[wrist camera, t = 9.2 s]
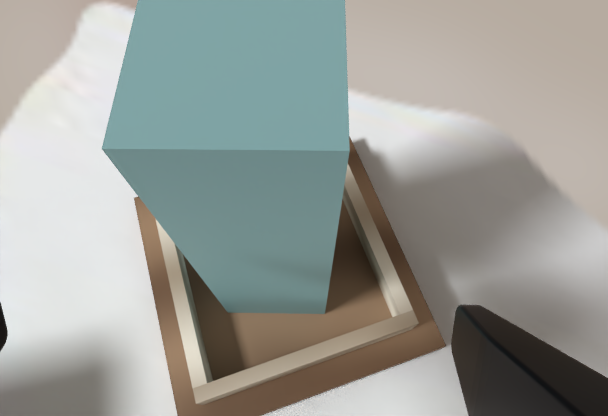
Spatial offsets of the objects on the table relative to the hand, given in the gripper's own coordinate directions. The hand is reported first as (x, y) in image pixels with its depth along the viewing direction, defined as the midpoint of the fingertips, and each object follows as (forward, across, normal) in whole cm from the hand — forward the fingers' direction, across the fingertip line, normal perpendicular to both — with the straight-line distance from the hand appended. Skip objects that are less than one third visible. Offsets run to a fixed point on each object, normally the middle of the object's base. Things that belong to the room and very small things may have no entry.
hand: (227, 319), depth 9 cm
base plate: (+13, 0, +6) cm, 14 cm away
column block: (+12, 0, +5) cm, 13 cm away
